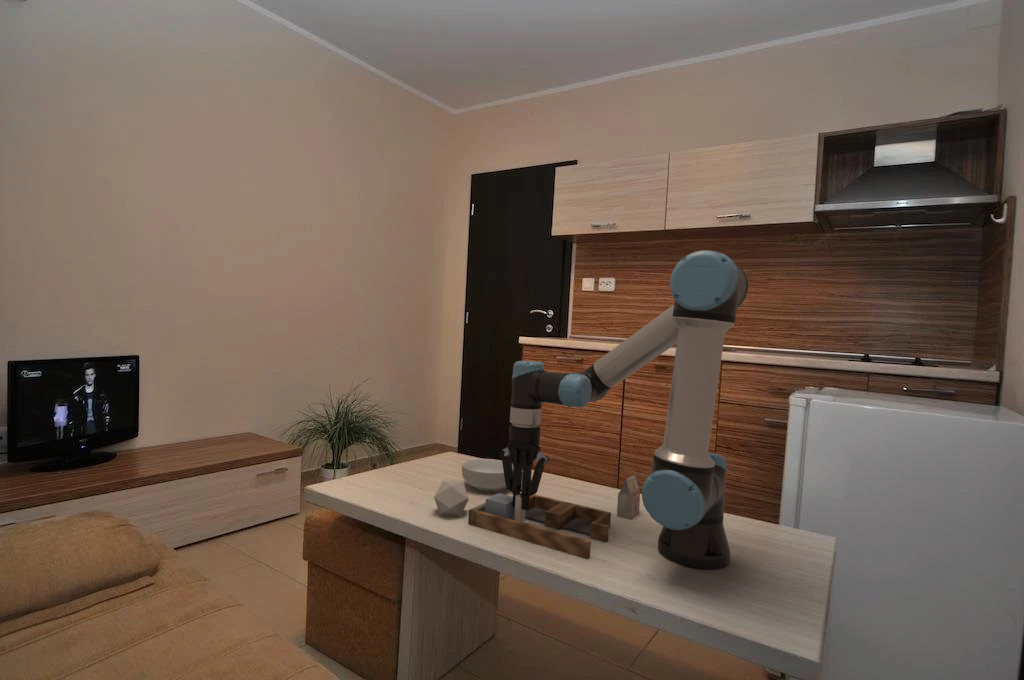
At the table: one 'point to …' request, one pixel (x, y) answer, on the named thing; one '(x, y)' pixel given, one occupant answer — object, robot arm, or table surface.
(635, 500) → the gable top carton
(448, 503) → the die
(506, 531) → the wooden compartment tray
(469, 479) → the cereal bowl
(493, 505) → the slate block
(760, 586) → the table surface
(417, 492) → the table surface
